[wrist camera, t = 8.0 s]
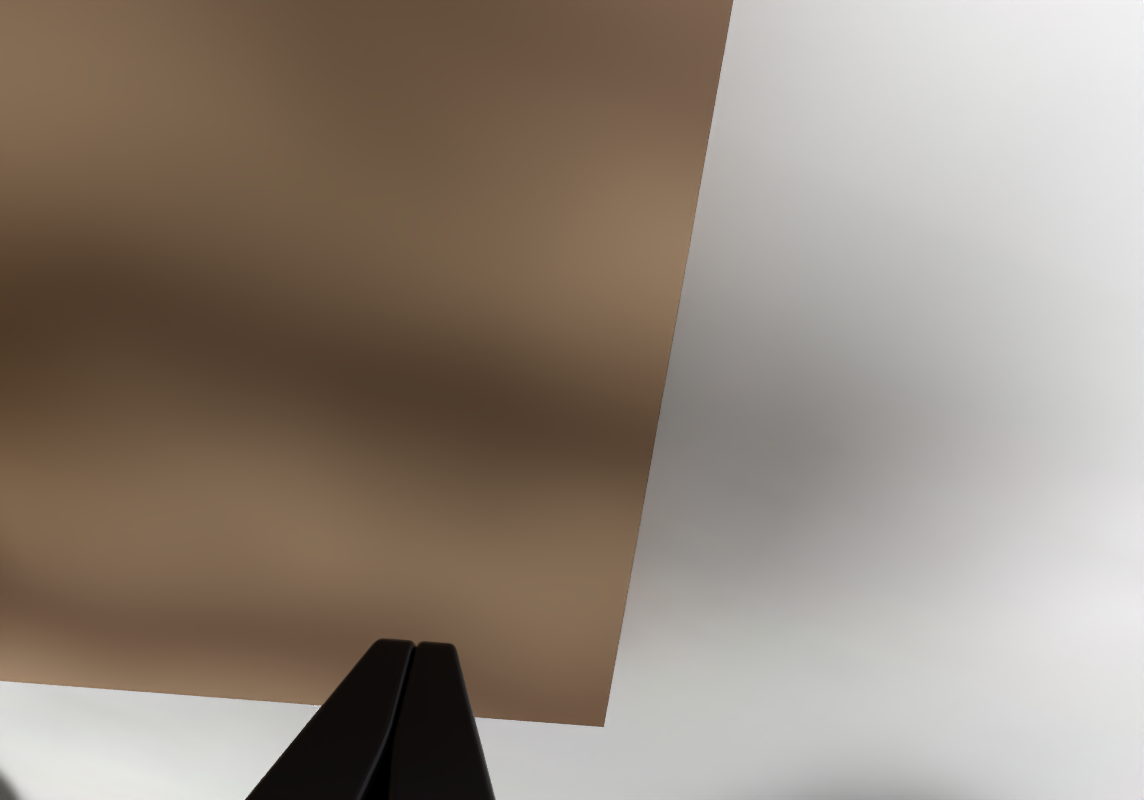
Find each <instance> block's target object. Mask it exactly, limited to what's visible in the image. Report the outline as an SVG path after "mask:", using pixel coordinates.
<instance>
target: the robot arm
mask: <svg viewBox="0 0 1144 800" xmlns="http://www.w3.org/2000/svg"><path fill="white" fill-rule="evenodd" d="M245 800H496V799H495V796H494V792H493V788H492V784H491V780H490V776H489V772H488V768H487V764H486V761H485V757H484V753H483V749H482V745H481V741H480V737H479V733H478V730H477V726H476V722H475V718H474V714H473V710H472V706H471V702H470V698H469V695H468V691H467V687H466V683H465V679H464V675H463V671H462V667H461V664H460V660H459V656H458V652H457V649H456V647H455V646H454V645H453V644H451V643H442V642H429V641H422V642H420V643H418V645H417V646H416V645H415V643H414V642H413V641H411V640H402V639H389V638H381V639H378V640H376V641H375V642H374V643H373V644H372V645H371V646H370V648H369V649H368V650H367V651H366V652H365V654H364V655H363V656H362V657H361V659H360V660H359V661H358V662H357V663H356V665H355V666H354V667H353V668H352V670H351V671H350V672H349V673H348V674H347V676H346V677H345V678H344V679H343V681H342V682H341V683H340V684H339V685H338V687H337V688H336V689H335V690H334V692H333V693H332V694H331V695H330V696H329V698H328V699H327V700H326V701H325V703H324V704H323V705H322V706H321V707H320V709H319V710H318V711H317V712H316V714H315V715H314V716H313V717H312V718H311V720H310V721H309V722H308V723H307V725H306V726H305V727H304V728H303V729H302V731H301V732H300V733H299V734H298V736H297V737H296V738H295V739H294V740H293V742H292V743H291V744H290V745H289V746H288V748H287V749H286V750H285V751H284V753H283V754H282V755H281V756H280V757H279V759H278V760H277V761H276V762H275V764H274V765H273V766H272V767H271V768H270V770H269V771H268V772H267V773H266V775H265V776H264V777H263V778H262V779H261V781H260V782H259V783H258V784H257V786H256V787H255V788H254V789H253V790H252V792H251V793H250V794H249V795H248V797H247V798H246V799H245Z"/></svg>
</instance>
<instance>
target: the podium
mask: <svg viewBox="0 0 1144 800" xmlns="http://www.w3.org/2000/svg"><path fill="white" fill-rule="evenodd" d="M732 4H733V0H0V681H9V682H22V683H35V684H49V685H62V686H75V687H88V688H101V689H114V690H127V691H140V692H153V693H166V694H179V695H193V696H206V697H219V698H232V699H245V700H258V701H271V702H284V703H297V704H310V705H323V704H324V703H325V701H326V700H327V699H328V698H329V696H330V695H331V694H332V693H333V692H334V690H335V689H336V688H337V687H338V685H339V684H340V683H341V682H342V681H343V679H344V678H345V677H346V676H347V674H348V673H349V672H350V671H351V670H352V668H353V667H354V666H355V665H356V663H357V662H358V661H359V660H360V659H361V657H362V656H363V655H364V654H365V652H366V651H367V650H368V649H369V648H370V646H371V645H372V644H373V643H374V642H375V641H376V640H378V639H381V638H389V639H402V640H411V641H413V642H414V643H415V645H416V646H417V645H418V643H420V642H422V641H429V642H442V643H451V644H453V645H454V646H455V647H456V649H457V652H458V656H459V660H460V664H461V667H462V671H463V675H464V679H465V683H466V687H467V691H468V695H469V698H470V702H471V706H472V710H473V714H474V717H480V718H494V719H507V720H520V721H533V722H546V723H559V724H572V725H585V726H598V727H604V722H605V717H606V711H607V706H608V700H609V694H610V689H611V683H612V678H613V672H614V666H615V661H616V655H617V650H618V644H619V638H620V633H621V627H622V621H623V616H624V610H625V605H626V599H627V593H628V588H629V582H630V577H631V571H632V565H633V560H634V554H635V548H636V543H637V537H638V532H639V526H640V520H641V515H642V509H643V504H644V498H645V492H646V487H647V481H648V476H649V470H650V464H651V459H652V453H653V447H654V442H655V436H656V431H657V425H658V419H659V414H660V408H661V403H662V397H663V391H664V386H665V380H666V375H667V369H668V363H669V358H670V352H671V346H672V341H673V335H674V330H675V324H676V318H677V313H678V307H679V302H680V296H681V290H682V285H683V279H684V274H685V268H686V262H687V257H688V251H689V245H690V240H691V234H692V229H693V223H694V217H695V212H696V206H697V201H698V195H699V189H700V184H701V178H702V173H703V167H704V161H705V156H706V150H707V144H708V139H709V133H710V128H711V122H712V116H713V111H714V105H715V100H716V94H717V88H718V83H719V77H720V71H721V66H722V60H723V55H724V49H725V43H726V38H727V32H728V27H729V21H730V15H731V10H732Z"/></svg>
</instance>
